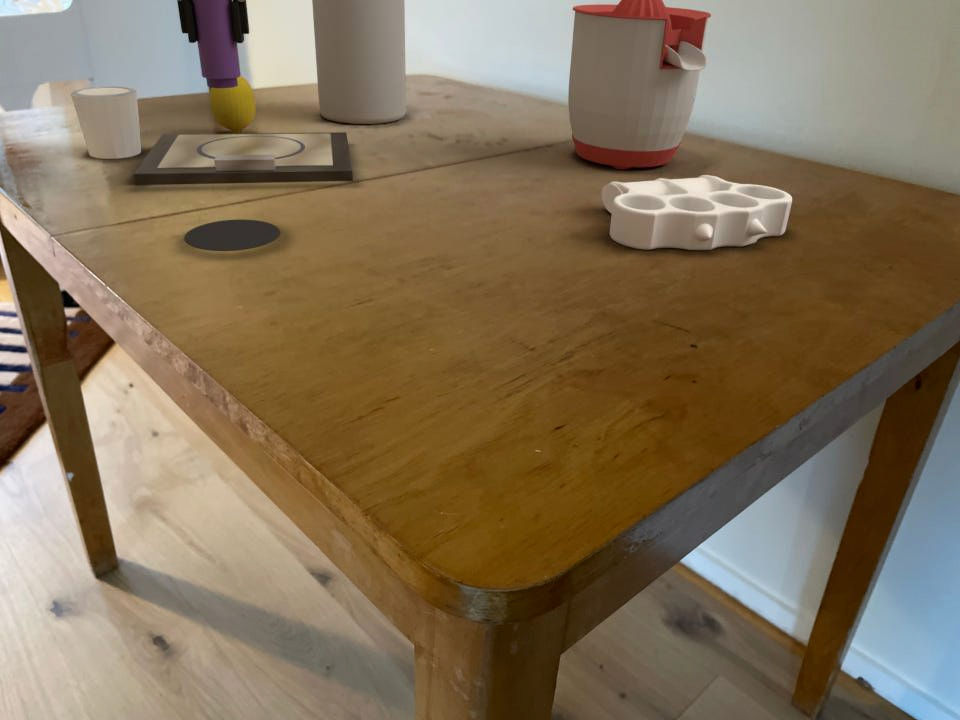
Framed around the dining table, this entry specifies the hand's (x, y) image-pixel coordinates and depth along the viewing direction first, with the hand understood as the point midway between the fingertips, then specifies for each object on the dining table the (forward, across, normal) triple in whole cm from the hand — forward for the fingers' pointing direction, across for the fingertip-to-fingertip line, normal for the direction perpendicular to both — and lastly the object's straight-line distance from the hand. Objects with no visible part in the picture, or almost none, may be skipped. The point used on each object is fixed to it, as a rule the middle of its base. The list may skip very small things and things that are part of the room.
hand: (217, 39), depth 83 cm
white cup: (+13, -14, +6) cm, 20 cm away
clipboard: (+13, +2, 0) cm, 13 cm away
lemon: (+13, -1, +15) cm, 20 cm away
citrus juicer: (+14, +47, -1) cm, 49 cm away
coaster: (+13, +2, -25) cm, 29 cm away
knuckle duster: (+14, +44, -26) cm, 53 cm away
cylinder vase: (+13, +16, +26) cm, 33 cm away
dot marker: (+5, 0, 0) cm, 5 cm away
